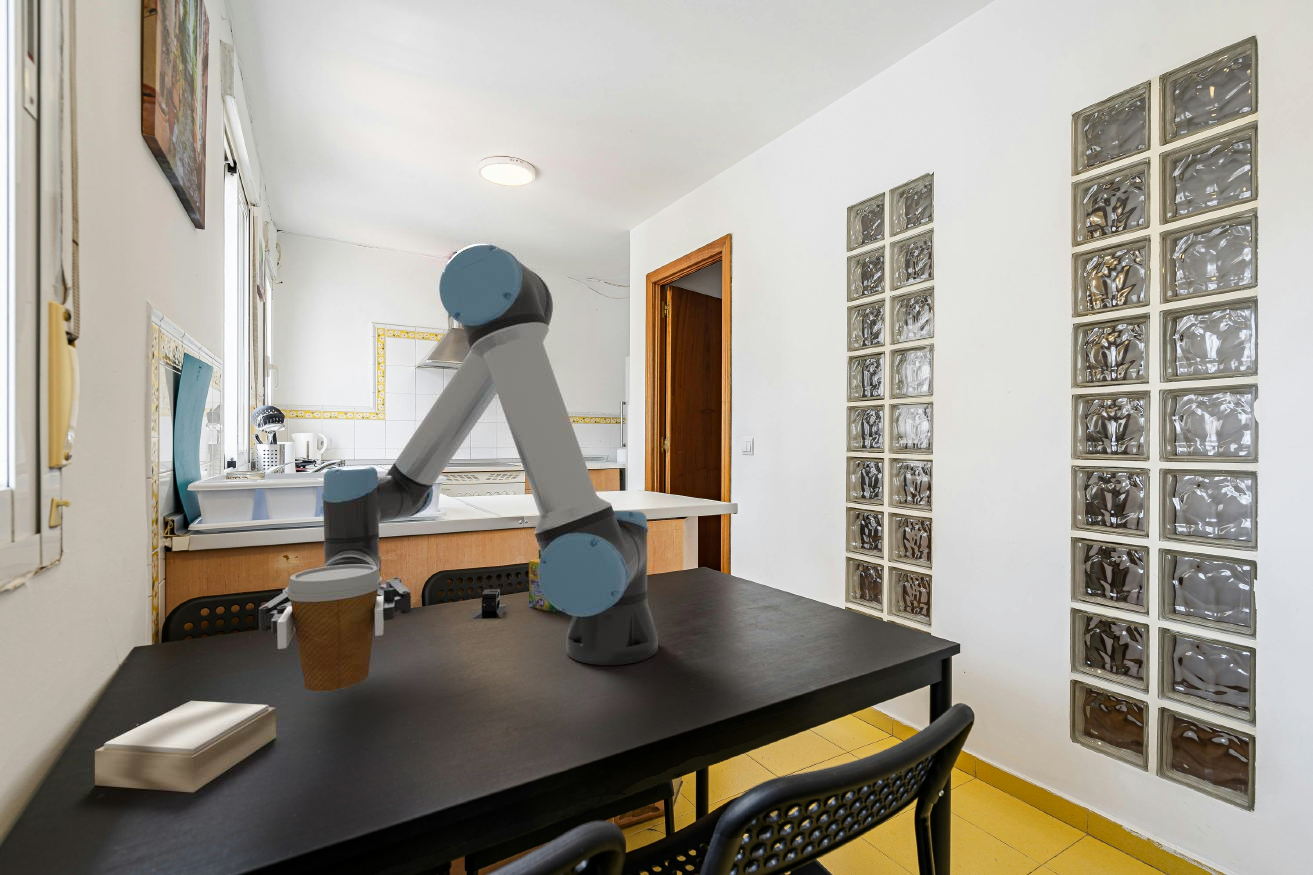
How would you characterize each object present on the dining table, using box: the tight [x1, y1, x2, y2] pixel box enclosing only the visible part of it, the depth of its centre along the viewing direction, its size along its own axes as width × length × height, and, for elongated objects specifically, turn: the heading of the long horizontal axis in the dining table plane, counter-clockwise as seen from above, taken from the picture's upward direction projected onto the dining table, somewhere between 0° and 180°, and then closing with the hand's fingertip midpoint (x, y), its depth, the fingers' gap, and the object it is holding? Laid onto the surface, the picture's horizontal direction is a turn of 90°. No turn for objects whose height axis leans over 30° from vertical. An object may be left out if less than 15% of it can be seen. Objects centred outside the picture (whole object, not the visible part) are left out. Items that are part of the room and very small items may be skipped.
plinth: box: [94, 700, 277, 793], centre depth 66 cm, size 11×11×4 cm
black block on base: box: [472, 588, 508, 620], centre depth 122 cm, size 12×7×5 cm, turn 6°
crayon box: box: [528, 548, 561, 613], centre depth 124 cm, size 7×3×12 cm, turn 55°
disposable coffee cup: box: [284, 564, 383, 692], centre depth 67 cm, size 10×10×12 cm
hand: (331, 628), depth 63 cm, fingers closed on disposable coffee cup, 8 cm apart
